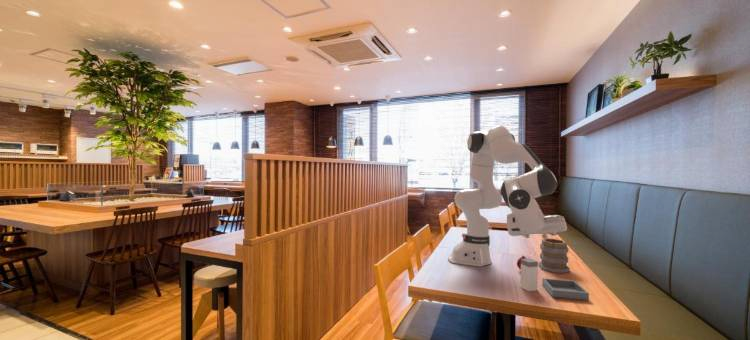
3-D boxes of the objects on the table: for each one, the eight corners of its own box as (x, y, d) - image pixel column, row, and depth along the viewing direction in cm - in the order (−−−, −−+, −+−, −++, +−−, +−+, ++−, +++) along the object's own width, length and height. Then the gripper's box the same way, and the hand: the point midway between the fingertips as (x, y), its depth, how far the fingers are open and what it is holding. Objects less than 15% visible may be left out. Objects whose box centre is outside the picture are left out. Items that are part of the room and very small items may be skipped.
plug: (528, 291, 125) (528, 262, 125) (520, 287, 130) (520, 259, 129) (537, 290, 126) (537, 261, 126) (529, 286, 131) (529, 258, 130)
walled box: (552, 297, 119) (552, 290, 119) (542, 285, 132) (542, 278, 132) (588, 300, 117) (588, 293, 117) (574, 287, 129) (574, 280, 129)
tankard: (573, 274, 145) (573, 242, 145) (544, 272, 148) (544, 241, 147) (557, 260, 165) (557, 233, 164) (531, 259, 167) (532, 232, 167)
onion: (532, 273, 146) (533, 256, 146) (523, 274, 144) (523, 257, 144) (523, 269, 151) (524, 253, 151) (514, 270, 150) (514, 254, 150)
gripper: (561, 207, 109) (569, 224, 117) (502, 215, 120) (513, 230, 129) (564, 223, 105) (572, 240, 114) (503, 230, 117) (514, 244, 125)
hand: (540, 235), depth 121 cm, fingers open, 8 cm apart
